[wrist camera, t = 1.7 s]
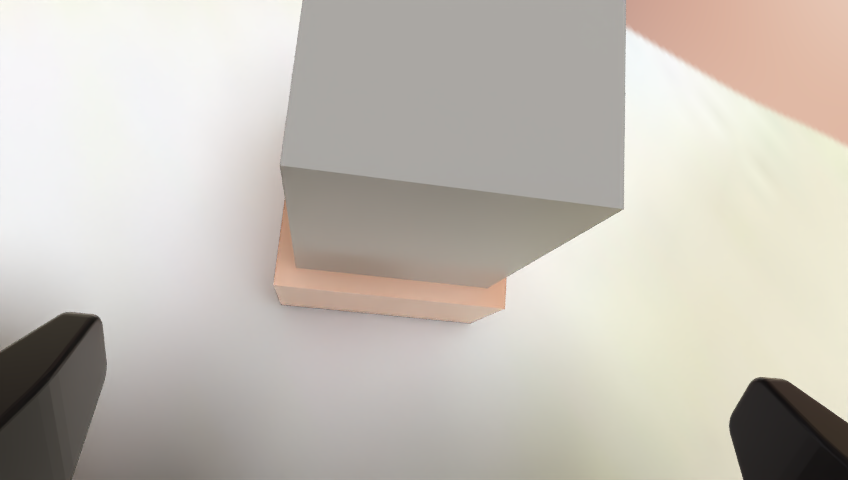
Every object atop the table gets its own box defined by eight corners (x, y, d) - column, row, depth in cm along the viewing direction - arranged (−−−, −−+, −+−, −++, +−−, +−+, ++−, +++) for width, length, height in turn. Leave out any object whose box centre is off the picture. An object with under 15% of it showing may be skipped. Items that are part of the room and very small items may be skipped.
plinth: (470, 323, 21) (504, 308, 17) (281, 304, 20) (273, 285, 17) (481, 148, 23) (515, 98, 19) (304, 124, 22) (302, 67, 18)
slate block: (487, 288, 17) (623, 208, 10) (295, 268, 17) (279, 165, 9) (497, 112, 19) (627, -83, 11) (318, 86, 18) (321, -141, 10)
